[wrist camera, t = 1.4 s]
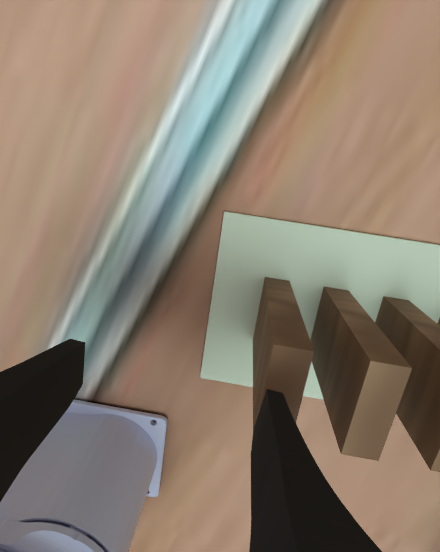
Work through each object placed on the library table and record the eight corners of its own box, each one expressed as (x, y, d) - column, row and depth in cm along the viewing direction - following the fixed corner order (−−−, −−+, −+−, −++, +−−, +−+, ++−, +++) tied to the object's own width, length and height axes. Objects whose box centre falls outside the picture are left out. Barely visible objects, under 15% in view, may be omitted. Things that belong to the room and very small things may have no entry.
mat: (200, 374, 25) (200, 377, 25) (224, 211, 21) (224, 211, 21) (594, 444, 24) (599, 448, 23) (690, 283, 20) (698, 285, 20)
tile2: (307, 349, 23) (340, 453, 15) (323, 286, 22) (370, 360, 13) (331, 353, 23) (378, 460, 15) (348, 290, 22) (412, 368, 13)
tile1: (252, 339, 23) (253, 438, 15) (264, 276, 22) (273, 344, 13) (275, 343, 23) (290, 444, 15) (289, 280, 22) (314, 351, 13)
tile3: (363, 358, 23) (430, 470, 14) (383, 296, 22) (470, 378, 13) (387, 363, 23) (468, 477, 14) (408, 300, 22) (512, 385, 13)
